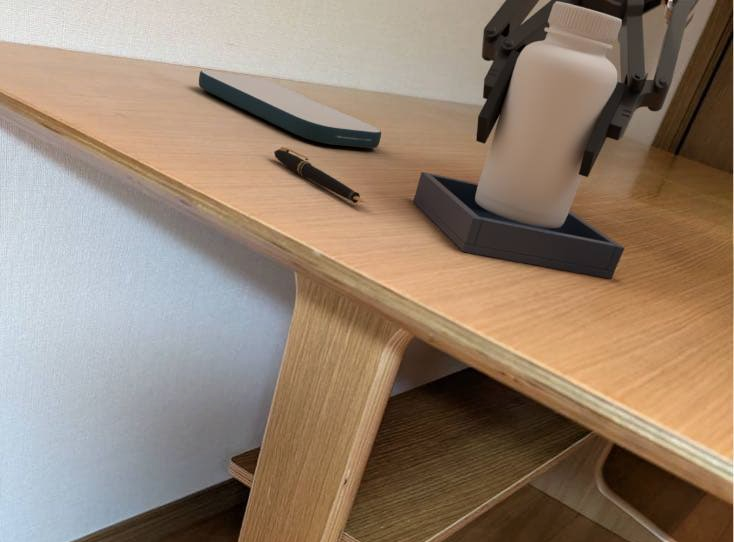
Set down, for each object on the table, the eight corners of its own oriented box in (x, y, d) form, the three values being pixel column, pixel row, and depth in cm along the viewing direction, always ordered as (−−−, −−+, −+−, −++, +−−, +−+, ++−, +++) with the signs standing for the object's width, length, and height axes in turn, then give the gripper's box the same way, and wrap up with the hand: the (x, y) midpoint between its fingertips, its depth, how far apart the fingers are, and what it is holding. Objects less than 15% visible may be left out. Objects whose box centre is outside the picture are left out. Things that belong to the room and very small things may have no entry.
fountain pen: (371, 213, 66) (376, 194, 66) (360, 212, 66) (365, 193, 65) (278, 159, 75) (281, 142, 74) (267, 158, 74) (270, 140, 73)
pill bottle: (514, 201, 74) (581, 9, 66) (580, 233, 69) (662, 31, 61) (453, 196, 69) (516, -12, 61) (519, 230, 65) (598, 10, 56)
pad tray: (544, 227, 78) (554, 199, 76) (611, 279, 67) (625, 247, 66) (412, 201, 74) (421, 171, 72) (462, 251, 63) (473, 217, 62)
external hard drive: (186, 85, 96) (188, 66, 95) (264, 96, 103) (267, 78, 102) (310, 147, 83) (315, 125, 82) (389, 154, 91) (394, 134, 89)
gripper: (752, -2, 69) (650, 219, 65) (520, -64, 73) (412, 140, 69) (790, -90, 61) (678, 154, 58) (530, -152, 66) (410, 70, 62)
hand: (533, 146), depth 63 cm, fingers closed on pill bottle, 8 cm apart
